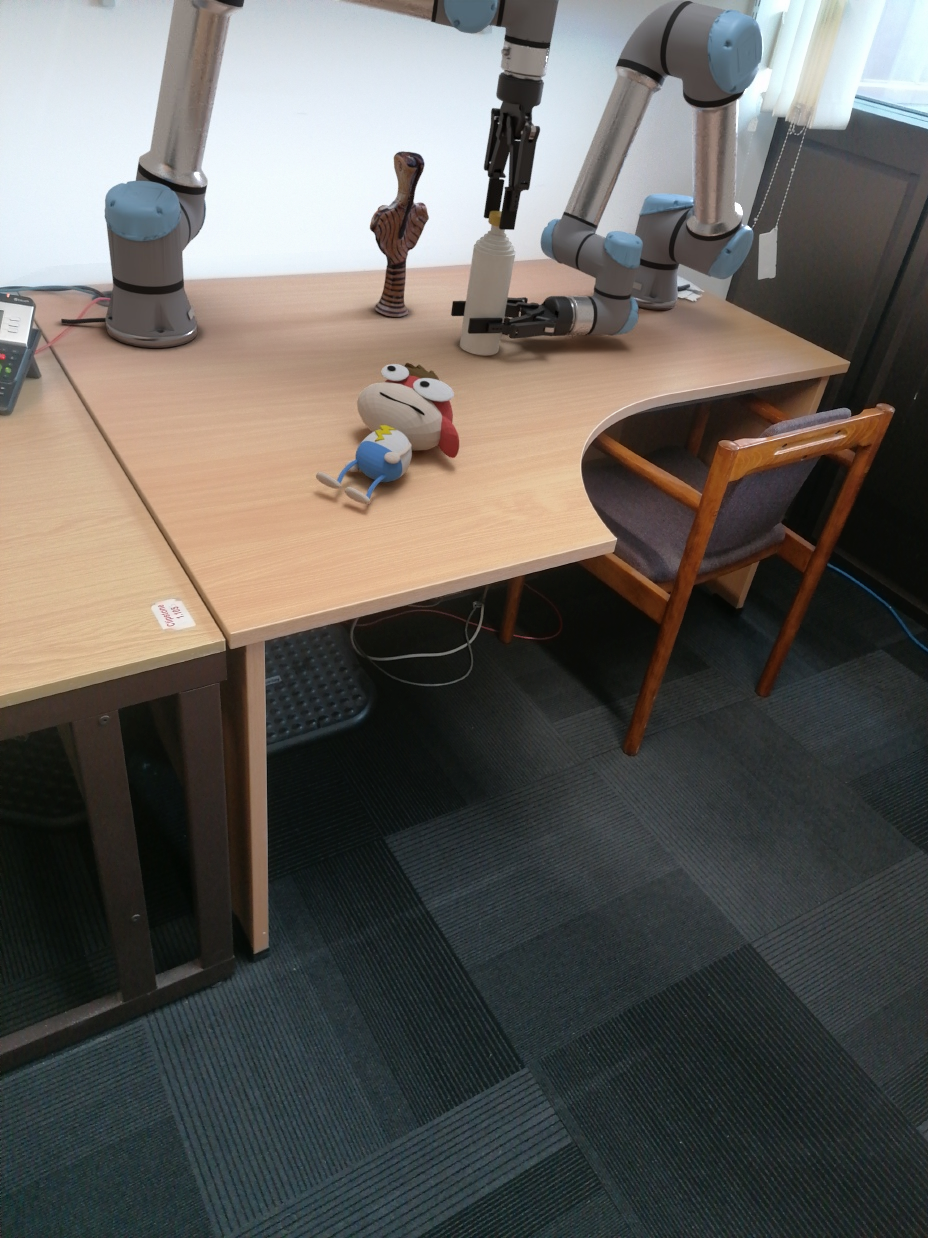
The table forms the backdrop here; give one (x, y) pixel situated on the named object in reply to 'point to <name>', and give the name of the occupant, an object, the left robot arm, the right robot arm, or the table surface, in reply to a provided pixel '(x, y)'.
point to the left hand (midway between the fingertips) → (498, 222)
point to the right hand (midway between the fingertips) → (461, 316)
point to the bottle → (487, 289)
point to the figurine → (399, 231)
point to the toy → (399, 425)
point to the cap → (495, 218)
